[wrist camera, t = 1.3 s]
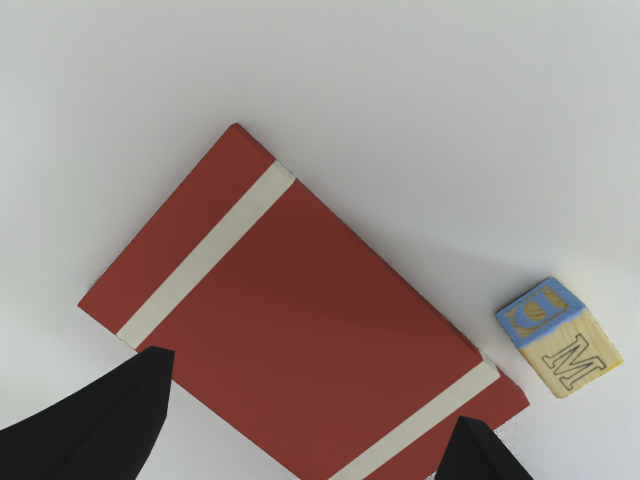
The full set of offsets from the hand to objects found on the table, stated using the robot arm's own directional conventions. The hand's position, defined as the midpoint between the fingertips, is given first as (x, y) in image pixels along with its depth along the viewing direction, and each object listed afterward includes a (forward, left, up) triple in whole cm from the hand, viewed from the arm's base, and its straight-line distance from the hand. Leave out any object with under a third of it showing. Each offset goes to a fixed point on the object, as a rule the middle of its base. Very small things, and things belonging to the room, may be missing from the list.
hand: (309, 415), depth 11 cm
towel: (-2, +3, -10) cm, 10 cm away
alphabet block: (-8, -5, -10) cm, 14 cm away
